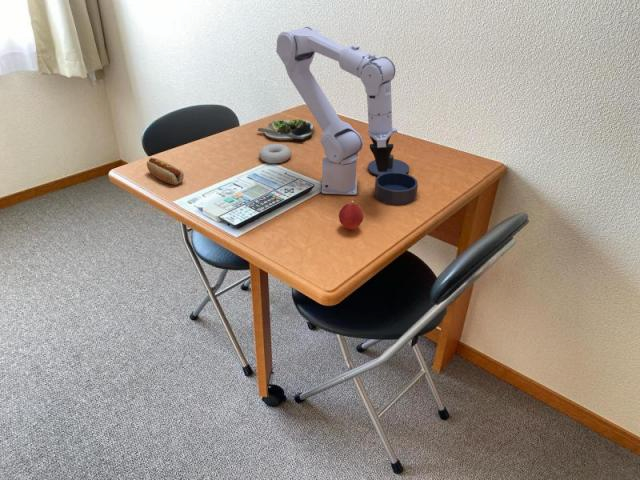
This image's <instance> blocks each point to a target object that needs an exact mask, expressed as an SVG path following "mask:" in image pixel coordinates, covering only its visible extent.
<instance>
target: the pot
mask: <svg viewBox="0 0 640 480" xmlns="http://www.w3.org/2000/svg"><path fill="white" fill-rule="evenodd" d="M418 185H419V183H418V179H416V178H415V176H412V175H410V174H408V173H407V174H405V173H399V172H389V173H384V174H381V175H379V176H377V177H375V180H374V196H375V198H376V199H377V200H378V201H380V202H382V203H384V204H388V205H393V206H394V205H395V206H401V205H407V204H410V203H412V202H413V201H415V200H416V198H417V195H418V194H417V193H418Z"/></svg>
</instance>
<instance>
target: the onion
mask: <svg viewBox="0 0 640 480" xmlns="http://www.w3.org/2000/svg"><path fill="white" fill-rule="evenodd" d="M338 220H339V223H340V224H341V226H342V227H344V228H346V229H348V230H349V231H353V230H355V229H357V228H358V227H359V226H361V224H362V223H363V221H364V212H363V209H362V208H361V207H360V206H359V205H358V204H356V203H355V201H354V200H350V201H349V202H347V203H346V204H344V205H343V206H342V207H341V208H340V209H339V211H338Z"/></svg>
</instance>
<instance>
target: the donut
mask: <svg viewBox="0 0 640 480" xmlns="http://www.w3.org/2000/svg"><path fill="white" fill-rule="evenodd" d="M258 156H259V159H260V160H261V161H263V162H265V163H267V164H281V163H285V162H286V161H288V160H289V159H290V158H291V156H292V151H291V148H290V147H289V146H287V145H285V144H281V143H270V144H266V145H264V146H262V147H261V148H260V150H259V152H258Z"/></svg>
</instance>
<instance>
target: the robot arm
mask: <svg viewBox="0 0 640 480" xmlns="http://www.w3.org/2000/svg"><path fill="white" fill-rule="evenodd" d="M275 52H276V54H277V56H278V57H279V59H280V60H281V62H282V63H283V65H284V67H285V70H286V73H287V75H288V77H289V79H290V81H291V82H292V84H293V86H294V88H295V89H296V90H297V92H298V93H299V95H300V97H301V98H302V100H303V102H304V103H305V105H306V106H307V108H308V110H309V112H310V113H311V115H312V116H313V118H314V119H315V121H316V123H317V124H318V126H319V128H320V129H321V131H322V135H321V137H320V144H321V145H322V147H323V151H324V155H325V156H326V157H323V158H322V163H321V164H322V165H321V179H320V180H321V182H320V183H321V194H324V195H347V196H349V195H351V196H356V195H357V193H358V180H357V164H358V163H357V161H358V157H359V152H361V151H362V149H363V147H364V141H363V137H362V136H361V134H360V133H359V132H358V131H357V130H355V129H354V128H353V127H352V125H351V124H350V123H349V122H347V121H344V120H341V118H340V117H339V115H338V114H337V112H336V110H335V108H334V107H333V105H332V104H331V102H330V100H329V99H328V97H327V96H326V94H325V92H324V91H323V89H322V88H321V86H320V84H319V83H318V81H317V80H316V78H315V76H314V75H313V73H312V72H311V69H310V66H311V64H312V63H313V60H314V58H315V54H316V53H317V54H319V55H321V56H324V57H326V58H328V59H330V60H333V61H335V62H338V65H339V68H340V69H341V70H343V71H345V72H347V73H348V74H350V75H352V76H354V77H356V78H359V79H360V81H361V83H362V85H363V86H364V89H365V93H366V104H367V105H366V107H367V122H368V123H367V124H368V130H367V135H368V136H369V138H370V140H371V142H372V143H370V144H369V150H370V152H371V153H372V155H373V157H374V160H375V161H376V165H377V169H378V172H387V169H388V162H389V157H390V154H391V155H392V151H393V149H394V147H395V145H394V143H389V142H390V140H391V137H392V135H393V134H397V133H398V128H397V127H393V106H392V105H393V104H392V81H393V79H395V76H396V65H395V64H394V62H393V61H392V60H391V59H390V58H389V57H387V56H381V57H377V56H376V54H375V53H369V52H367V51H364V50H362V49H360V46H359V45H357V44H353V45H347V46H342V45H341V44H339V43H337V42H335V41H333V40H332V39H331V38H328V37H327V36H325V35H323V34H322V33H320V31H319V30H318V29H317V28H316V29H315V28H312V27H311V26H304V27H302V28H297V29H293V30H289V31H281V32H280V33H279V34H278V36H277V39H276V50H275Z"/></svg>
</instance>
